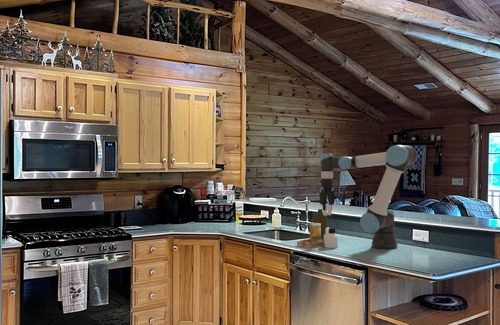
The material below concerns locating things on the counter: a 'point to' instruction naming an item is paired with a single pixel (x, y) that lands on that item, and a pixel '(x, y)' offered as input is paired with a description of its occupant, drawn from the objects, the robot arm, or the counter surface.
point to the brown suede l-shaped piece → (313, 237)
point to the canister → (321, 221)
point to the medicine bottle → (330, 238)
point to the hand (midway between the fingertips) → (327, 215)
